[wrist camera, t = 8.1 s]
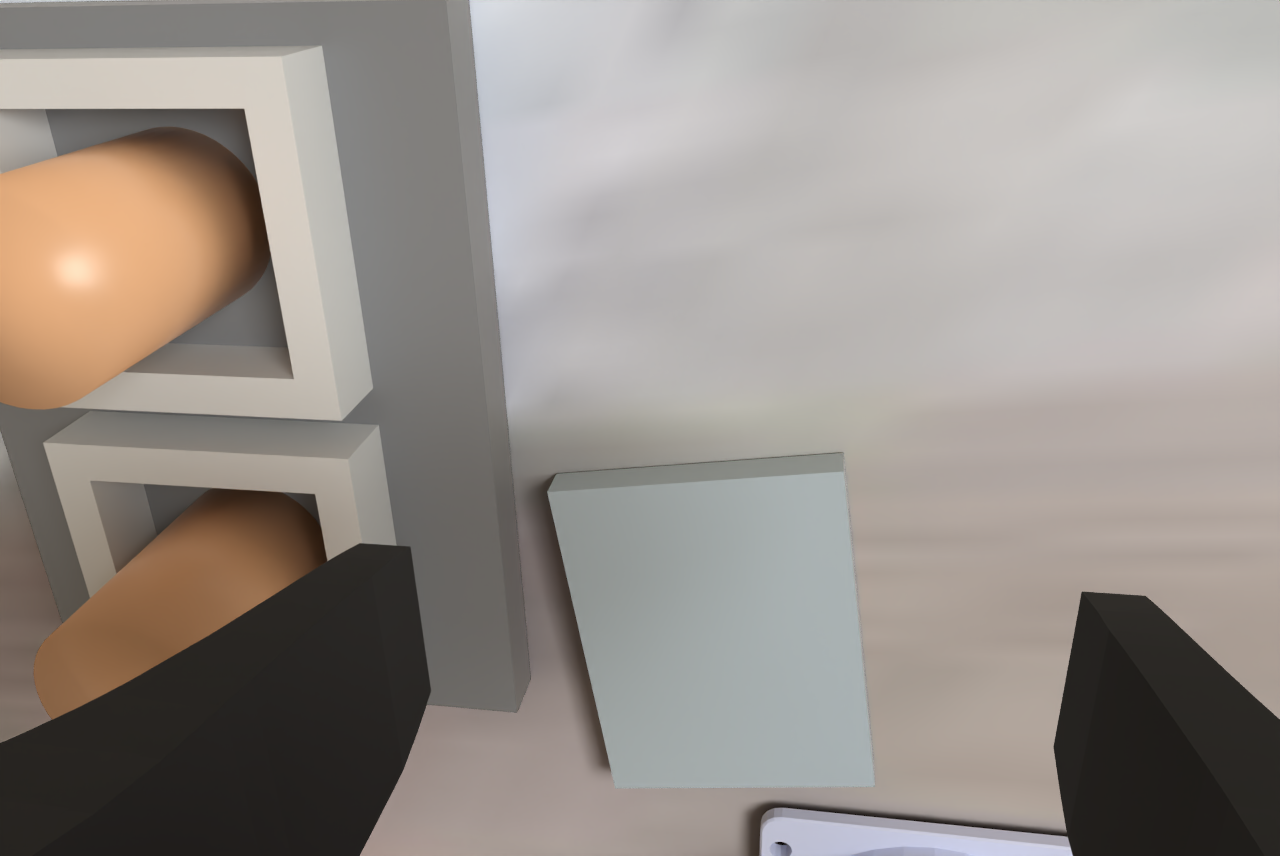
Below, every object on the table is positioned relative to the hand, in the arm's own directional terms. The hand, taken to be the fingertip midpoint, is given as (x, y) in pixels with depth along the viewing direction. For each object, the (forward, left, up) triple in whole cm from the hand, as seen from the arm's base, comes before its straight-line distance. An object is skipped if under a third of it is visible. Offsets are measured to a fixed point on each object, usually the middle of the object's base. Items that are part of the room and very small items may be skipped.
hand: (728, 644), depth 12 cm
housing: (-2, +11, -10) cm, 15 cm away
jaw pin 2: (-5, +11, -9) cm, 15 cm away
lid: (-7, +1, -10) cm, 12 cm away
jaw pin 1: (+2, +11, -9) cm, 14 cm away
